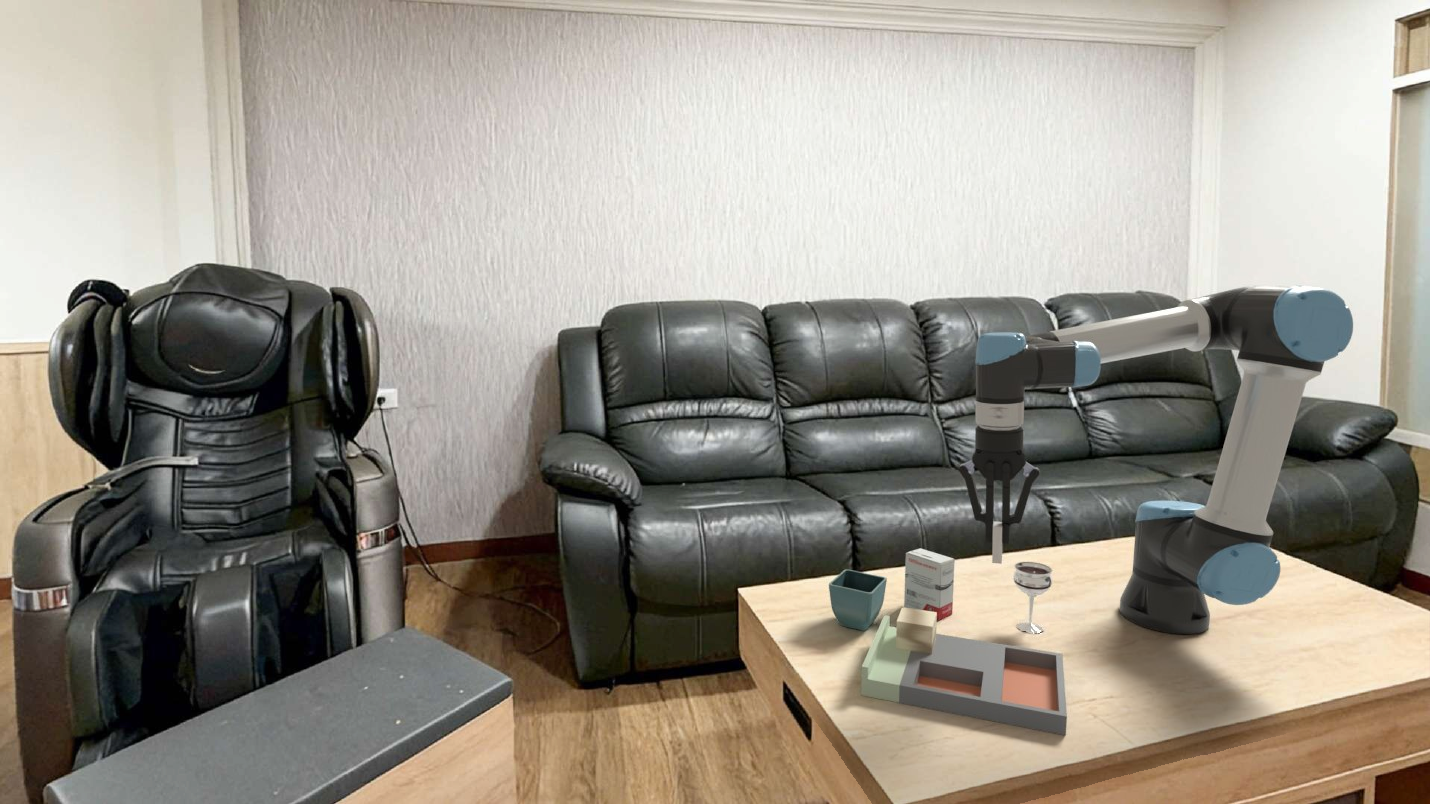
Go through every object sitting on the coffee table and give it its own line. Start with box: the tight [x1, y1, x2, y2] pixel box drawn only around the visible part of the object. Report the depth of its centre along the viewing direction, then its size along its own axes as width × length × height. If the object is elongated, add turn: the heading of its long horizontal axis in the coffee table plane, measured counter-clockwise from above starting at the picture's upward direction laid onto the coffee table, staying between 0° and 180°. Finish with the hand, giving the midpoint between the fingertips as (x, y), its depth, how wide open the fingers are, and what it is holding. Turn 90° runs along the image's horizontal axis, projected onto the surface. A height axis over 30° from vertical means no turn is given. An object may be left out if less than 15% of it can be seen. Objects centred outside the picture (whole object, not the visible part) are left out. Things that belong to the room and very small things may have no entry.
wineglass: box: [1013, 561, 1053, 635], centre depth 143 cm, size 7×7×12 cm
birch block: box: [896, 606, 938, 654], centre depth 132 cm, size 6×6×5 cm
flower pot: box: [828, 569, 888, 632], centre depth 146 cm, size 9×9×9 cm
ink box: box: [903, 547, 956, 621], centre depth 152 cm, size 8×5×12 cm, turn 39°
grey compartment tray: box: [860, 614, 1068, 736], centre depth 125 cm, size 30×20×5 cm, turn 67°
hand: (997, 560), depth 130 cm, fingers closed
